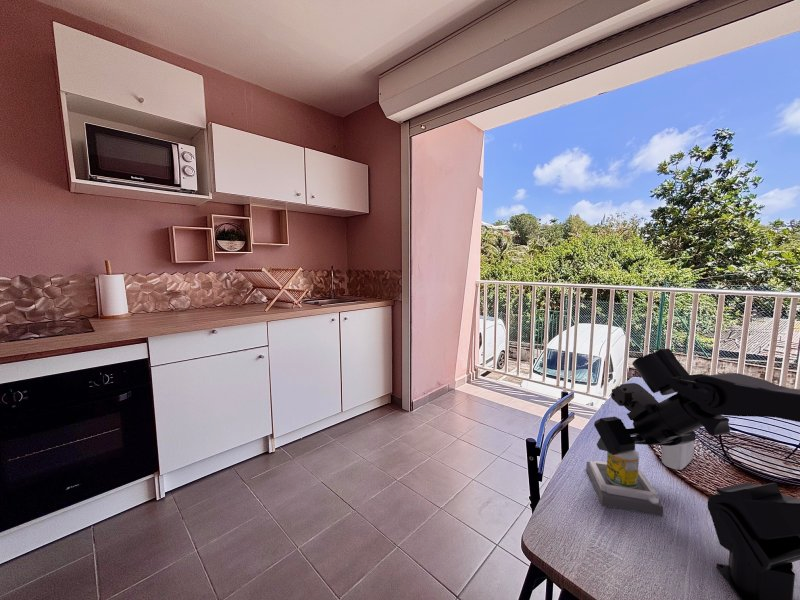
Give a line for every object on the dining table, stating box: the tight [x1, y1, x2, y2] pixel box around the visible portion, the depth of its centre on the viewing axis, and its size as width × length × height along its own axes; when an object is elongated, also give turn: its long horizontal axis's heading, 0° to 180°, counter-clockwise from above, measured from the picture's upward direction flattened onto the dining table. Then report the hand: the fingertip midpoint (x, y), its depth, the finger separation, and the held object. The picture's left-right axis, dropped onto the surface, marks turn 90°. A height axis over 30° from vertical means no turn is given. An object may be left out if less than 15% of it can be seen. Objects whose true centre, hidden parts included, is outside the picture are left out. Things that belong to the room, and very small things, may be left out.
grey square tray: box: [586, 460, 664, 517], centre depth 66 cm, size 12×10×3 cm
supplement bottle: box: [606, 449, 640, 489], centre depth 66 cm, size 5×5×10 cm
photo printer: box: [661, 430, 696, 471], centre depth 76 cm, size 10×4×12 cm, turn 123°
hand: (616, 444), depth 67 cm, fingers open, 9 cm apart
